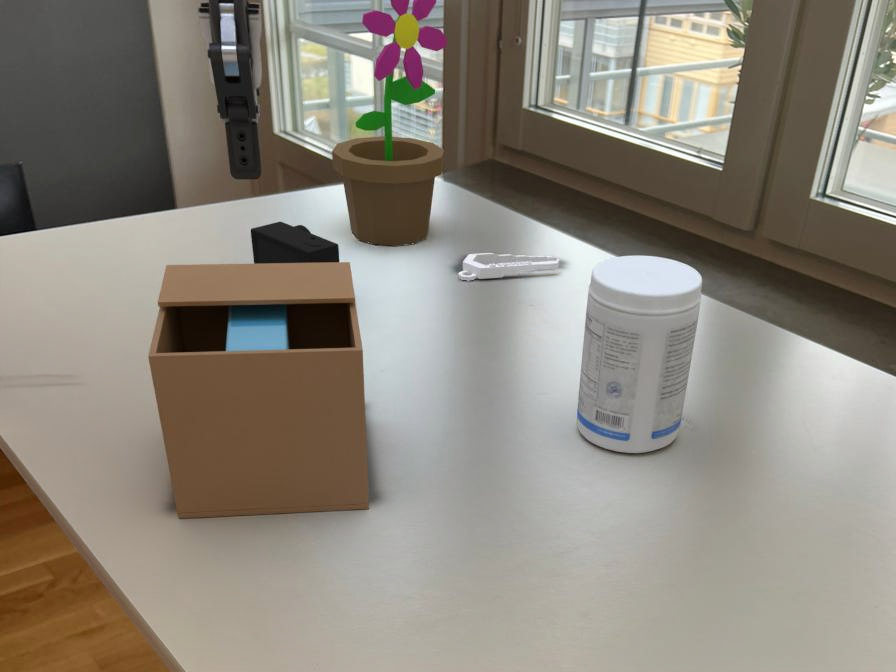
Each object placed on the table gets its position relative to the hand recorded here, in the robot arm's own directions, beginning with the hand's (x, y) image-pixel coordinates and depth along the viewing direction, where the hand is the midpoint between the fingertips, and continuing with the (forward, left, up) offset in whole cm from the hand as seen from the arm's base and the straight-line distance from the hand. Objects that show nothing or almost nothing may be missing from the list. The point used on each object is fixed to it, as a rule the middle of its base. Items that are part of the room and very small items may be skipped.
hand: (246, 176), depth 73 cm
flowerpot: (+15, +58, -23) cm, 64 cm away
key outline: (+28, +43, -23) cm, 56 cm away
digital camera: (+3, +36, -23) cm, 42 cm away
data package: (0, -2, -22) cm, 22 cm away
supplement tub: (+32, +1, -23) cm, 39 cm away
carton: (0, -2, -23) cm, 23 cm away
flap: (0, +2, -9) cm, 9 cm away
